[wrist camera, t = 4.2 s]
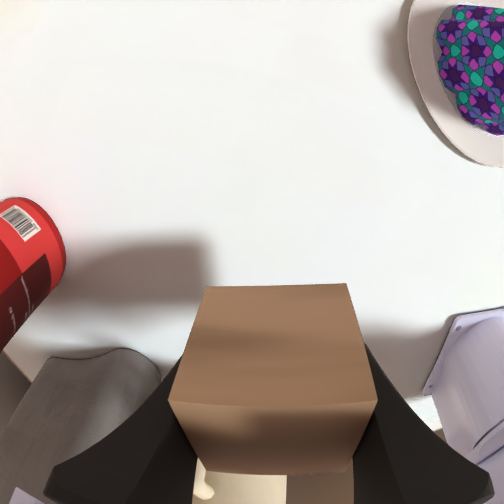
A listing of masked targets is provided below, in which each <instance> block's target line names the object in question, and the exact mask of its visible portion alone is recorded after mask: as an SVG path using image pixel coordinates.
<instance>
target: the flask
mask: <svg viewBox="0 0 504 504" xmlns="http://www.w3.org/2000/svg"><path fill="white" fill-rule="evenodd" d="M159 383H160V373H159V371H158V369H157V367H156V366H155V365H154V364H153V363H152V362H151V361H150V360H149V359H148V358H147V357H145V356H143V355H142V354H140V353H139V352H136V351H133V350H130V349H116V350H113V351H111V352H108V353H106V354H104V355H102V356H99V357H95V358H90V359H84V360H69V359H62V358H55V357H51V358H49V359H48V360H47V361H46V363H45V364H44V366H43V367H42V369H41V370H40V372H39V373H38V375H37V376H36V378H35V379H34V381H33V383H32V384H31V386H30V387H29V389H28V391H27V392H26V394H25V396H24V397H23V399H22V400H21V402H20V404H19V405H18V407H17V409H16V411H15V412H14V414H13V416H12V417H11V419H10V421H9V423H8V425H7V426H6V428H5V430H4V432H3V434H2V436H1V437H0V504H9V503H10V500H11V498H12V495H13V493H14V490H15V488H16V487H18V488H19V489H21V490H23V491H24V492H26V493H27V494H29V495H31V496H32V497H34V498H36V499H37V500H39V501H41V502H43V503H44V504H57V503H55V502H53V501H52V500H50V499H48V498H47V497H45V496H44V494H43V491H44V488H45V486H46V483H47V481H48V478H49V476H50V473H51V471H52V469H53V467H54V466H56V465H58V464H60V463H62V462H64V461H66V460H68V459H70V458H72V457H74V456H76V455H78V454H80V453H81V452H83V451H85V450H86V449H88V448H89V447H91V446H92V445H94V444H95V443H97V442H99V441H100V440H101V439H103V438H104V437H106V436H107V435H108V434H110V433H111V432H112V431H113V430H115V429H116V428H117V427H118V426H119V425H121V424H122V423H123V422H124V421H125V420H126V419H127V418H128V417H130V416H131V415H132V414H133V413H134V412H135V411H136V410H137V409H138V408H139V407H140V406H141V405H142V404H143V403H144V401H145V400H146V399H147V398H148V397H149V396H150V395H151V394H152V393H153V392H154V390H155V389H156V388H157V387H158V386H159Z"/></svg>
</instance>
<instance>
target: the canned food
mask: <svg viewBox="0 0 504 504" xmlns="http://www.w3.org/2000/svg"><path fill="white" fill-rule="evenodd" d="M65 265H66V254H65V247H64V244H63V241H62V237H61V235H60V233H59V231H58V229H57V227H56V225H55V224H54V222H53V220H52V219H51V218H50V216H49V215H48V214H47V213H46V211H44V210H43V209H42V208H41V207H40V206H39V205H38V204H36V203H35V202H33V201H31V200H29V199H26V198H21V197H19V198H11V199H6V200H4V201H2V202H0V352H1V351H2V350H3V348H4V347H5V346H6V345H7V343H8V342H9V341H10V339H11V338H12V337H13V336H14V334H15V333H16V332H17V331H18V329H19V328H20V327H21V326H22V325H23V323H24V322H25V321H26V320H27V319H28V317H29V316H30V315H31V314H32V313H33V312H34V310H35V309H36V308H37V307H38V306H39V305H40V303H41V302H42V301H43V300H44V299H45V298H46V297H47V296H48V294H49V293H50V292H51V291H52V290H53V289H54V288H55V287H56V286H57V285H58V283H59V281H60V279H61V277H62V275H63V272H64V269H65Z"/></svg>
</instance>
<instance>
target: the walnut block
mask: <svg viewBox="0 0 504 504" xmlns="http://www.w3.org/2000/svg"><path fill="white" fill-rule="evenodd" d="M168 401H169V404H170V406H171V408H172V410H173V412H174V414H175V416H176V417H177V419H178V421H179V423H180V425H181V427H182V429H183V431H184V433H185V435H186V436H187V438H188V440H189V442H190V444H191V445H192V447H193V449H194V451H195V452H196V454H197V456H198V458H199V459H200V461H201V463H202V464H203V466H204V468H205V469H206V471H211V472H221V473H233V474H249V475H307V474H325V473H336V472H344V471H345V469H346V468H347V466H348V464H349V462H350V460H351V458H352V456H353V454H354V452H355V450H356V448H357V446H358V444H359V442H360V440H361V437H362V435H363V433H364V431H365V429H366V427H367V424H368V422H369V420H370V418H371V415H372V413H373V410H374V408H375V406H376V403H377V401H378V399H377V394H376V390H375V386H374V381H373V377H372V373H371V369H370V365H369V361H368V358H367V354H366V350H365V346H364V342H363V339H362V335H361V332H360V328H359V324H358V321H357V318H356V314H355V311H354V307H353V304H352V301H351V297H350V294H349V291H348V288H347V284H346V283H341V284H315V285H281V286H222V287H206V290H205V292H204V295H203V298H202V301H201V304H200V306H199V309H198V312H197V315H196V318H195V321H194V324H193V326H192V329H191V332H190V335H189V338H188V341H187V344H186V347H185V350H184V353H183V356H182V359H181V362H180V365H179V368H178V371H177V374H176V377H175V380H174V383H173V386H172V389H171V392H170V395H169V398H168Z"/></svg>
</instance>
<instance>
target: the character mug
mask: <svg viewBox="0 0 504 504" xmlns="http://www.w3.org/2000/svg"><path fill="white" fill-rule="evenodd" d="M286 476H287V475H249V474H233V473H221V472H211V471H206V469H205V468H204V466H203V464H202V463H201V461H200V459H199V458H198V460H197V466H196V473H195V481H194V490H193V499H192V504H286Z"/></svg>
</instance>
